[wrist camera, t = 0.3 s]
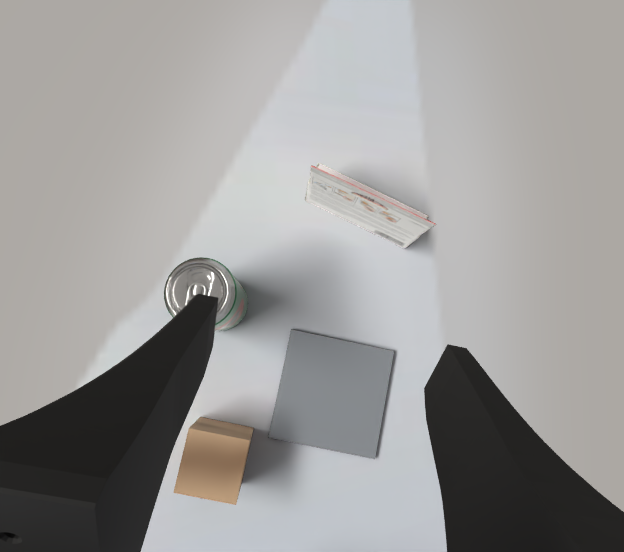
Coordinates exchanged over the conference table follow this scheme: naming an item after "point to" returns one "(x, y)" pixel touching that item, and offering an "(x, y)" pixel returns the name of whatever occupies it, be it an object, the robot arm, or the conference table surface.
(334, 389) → the pad
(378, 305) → the conference table surface
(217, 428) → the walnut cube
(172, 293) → the soda can
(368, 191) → the ink cartridge box
